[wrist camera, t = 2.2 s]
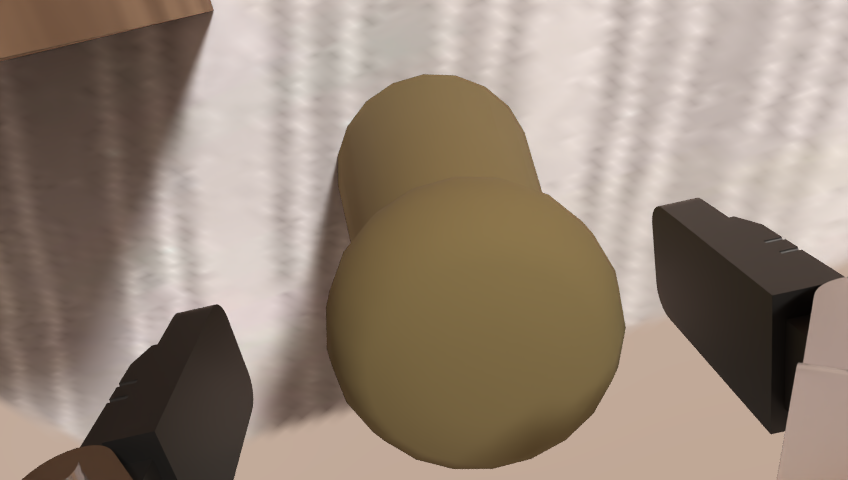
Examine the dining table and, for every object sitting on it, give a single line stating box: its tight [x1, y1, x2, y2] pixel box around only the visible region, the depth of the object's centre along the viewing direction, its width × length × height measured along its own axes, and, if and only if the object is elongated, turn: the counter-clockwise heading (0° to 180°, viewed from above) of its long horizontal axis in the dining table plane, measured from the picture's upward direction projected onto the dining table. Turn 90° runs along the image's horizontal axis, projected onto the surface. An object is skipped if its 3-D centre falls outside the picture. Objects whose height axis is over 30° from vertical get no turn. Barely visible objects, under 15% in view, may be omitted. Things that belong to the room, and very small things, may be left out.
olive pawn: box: [326, 74, 626, 469], centre depth 15 cm, size 6×6×11 cm
